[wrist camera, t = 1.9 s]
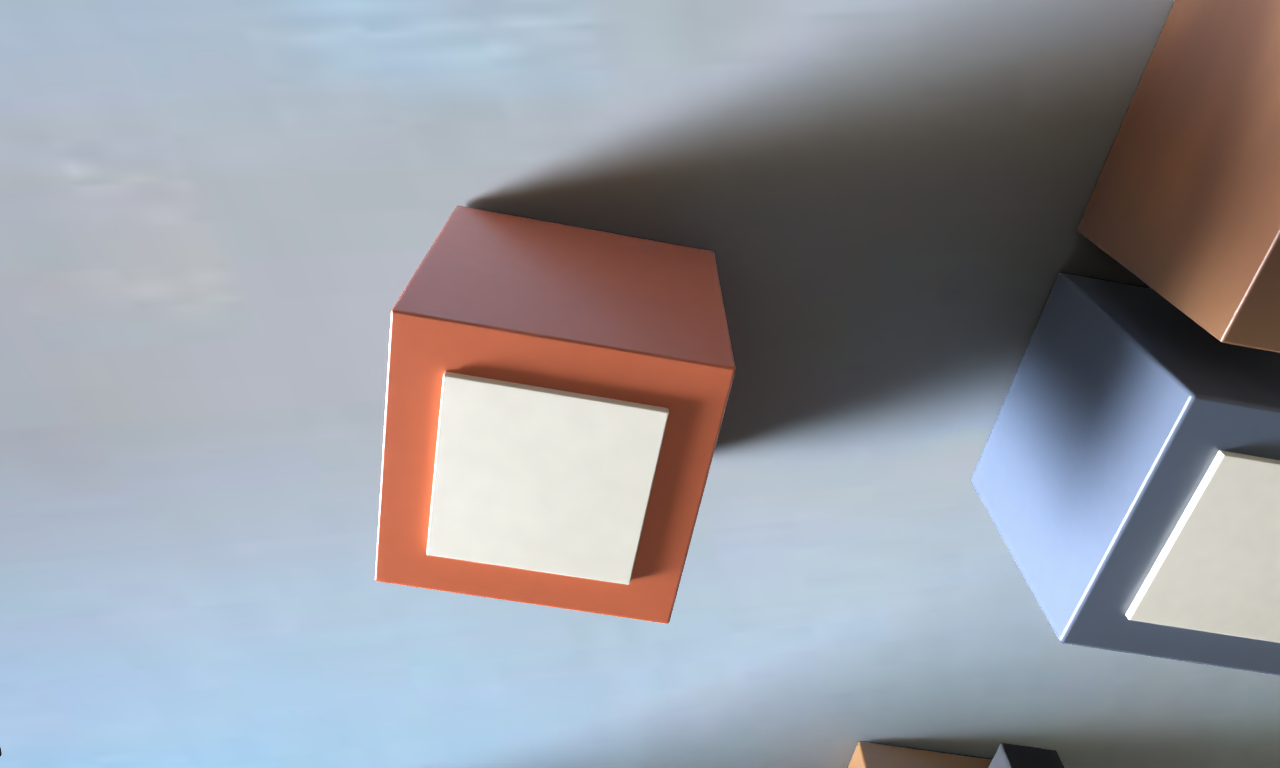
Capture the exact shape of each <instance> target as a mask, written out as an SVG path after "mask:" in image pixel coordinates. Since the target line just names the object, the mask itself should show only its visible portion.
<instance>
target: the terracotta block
mask: <svg viewBox="0 0 1280 768" xmlns="http://www.w3.org/2000/svg"><path fill="white" fill-rule="evenodd" d="M735 370H736V369H735V364H734V358H733V353H732V347H731V342H730V337H729V331H728V326H727V320H726V315H725V309H724V304H723V299H722V293H721V288H720V282H719V277H718V272H717V266H716V261H715V255H714V252H713V251H708V250H703V249H697V248H691V247H686V246H680V245H675V244H669V243H663V242H658V241H652V240H647V239H641V238H636V237H630V236H624V235H619V234H613V233H608V232H602V231H596V230H591V229H585V228H580V227H574V226H569V225H563V224H557V223H552V222H546V221H541V220H535V219H529V218H524V217H518V216H513V215H507V214H502V213H496V212H490V211H485V210H479V209H474V208H468V207H463V206H456V208H455V209H454V211H453V213H452V214H451V216H450V217H449V219H448V221H447V222H446V224H445V226H444V227H443V229H442V230H441V232H440V234H439V235H438V237H437V238H436V240H435V242H434V243H433V245H432V246H431V248H430V250H429V251H428V253H427V254H426V256H425V258H424V259H423V261H422V262H421V264H420V266H419V267H418V269H417V270H416V272H415V274H414V275H413V277H412V278H411V280H410V282H409V283H408V285H407V286H406V288H405V290H404V291H403V293H402V295H401V296H400V298H399V299H398V301H397V303H396V304H395V306H394V307H393V309H392V311H391V320H390V337H389V353H388V370H387V386H386V403H385V419H384V436H383V452H382V469H381V486H380V502H379V519H378V535H377V552H376V568H375V580H376V581H378V582H385V583H392V584H399V585H406V586H412V587H419V588H426V589H433V590H440V591H447V592H454V593H460V594H467V595H474V596H481V597H488V598H495V599H502V600H508V601H515V602H522V603H529V604H536V605H543V606H549V607H556V608H563V609H570V610H577V611H584V612H591V613H597V614H604V615H611V616H618V617H625V618H632V619H638V620H645V621H652V622H659V623H666V624H667V623H669V621H670V618H671V614H672V610H673V606H674V602H675V599H676V595H677V591H678V587H679V583H680V580H681V576H682V572H683V568H684V564H685V561H686V557H687V553H688V549H689V545H690V542H691V538H692V534H693V530H694V526H695V523H696V519H697V515H698V511H699V507H700V504H701V500H702V496H703V492H704V488H705V484H706V481H707V477H708V473H709V469H710V465H711V462H712V458H713V454H714V450H715V446H716V443H717V439H718V435H719V431H720V427H721V424H722V420H723V416H724V412H725V408H726V405H727V401H728V397H729V393H730V389H731V386H732V382H733V378H734V374H735Z"/></svg>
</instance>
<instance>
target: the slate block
mask: <svg viewBox="0 0 1280 768" xmlns="http://www.w3.org/2000/svg"><path fill="white" fill-rule="evenodd" d="M971 482H972V484H973V486H974V488H975V490H976V491H977V493H978V495H979V497H980V499H981V500H982V502H983V504H984V506H985V508H986V509H987V511H988V513H989V515H990V517H991V519H992V520H993V522H994V524H995V526H996V528H997V529H998V531H999V533H1000V535H1001V537H1002V538H1003V540H1004V542H1005V544H1006V546H1007V547H1008V549H1009V551H1010V553H1011V555H1012V557H1013V558H1014V560H1015V562H1016V564H1017V566H1018V567H1019V569H1020V571H1021V573H1022V575H1023V576H1024V578H1025V580H1026V582H1027V584H1028V585H1029V587H1030V589H1031V591H1032V593H1033V595H1034V596H1035V598H1036V600H1037V602H1038V604H1039V605H1040V607H1041V609H1042V611H1043V613H1044V614H1045V616H1046V618H1047V620H1048V622H1049V623H1050V625H1051V627H1052V629H1053V631H1054V632H1055V634H1056V636H1057V638H1058V640H1059V641H1060V642H1062V643H1065V644H1072V645H1079V646H1085V647H1092V648H1099V649H1106V650H1112V651H1119V652H1126V653H1132V654H1139V655H1146V656H1152V657H1159V658H1166V659H1172V660H1179V661H1186V662H1192V663H1199V664H1206V665H1213V666H1219V667H1226V668H1233V669H1239V670H1246V671H1253V672H1259V673H1266V674H1273V675H1279V676H1280V353H1278V352H1272V351H1267V350H1261V349H1256V348H1250V347H1244V346H1239V345H1233V344H1228V343H1222V342H1220V341H1219V340H1218V339H1216V338H1215V337H1214V336H1213V335H1211V334H1210V333H1209V332H1207V331H1206V330H1205V329H1204V328H1202V327H1201V326H1200V325H1198V324H1197V323H1196V322H1195V321H1193V320H1192V319H1191V318H1189V317H1188V316H1187V315H1185V314H1184V313H1183V312H1182V311H1180V310H1179V309H1178V308H1176V307H1175V306H1174V305H1173V304H1171V303H1170V302H1169V301H1167V300H1166V299H1165V298H1164V297H1162V296H1161V295H1160V294H1158V293H1157V292H1156V291H1155V290H1153V289H1148V288H1143V287H1137V286H1132V285H1126V284H1121V283H1116V282H1110V281H1105V280H1099V279H1094V278H1088V277H1083V276H1077V275H1072V274H1066V273H1060V274H1059V275H1058V277H1057V279H1056V281H1055V284H1054V286H1053V288H1052V291H1051V293H1050V295H1049V298H1048V300H1047V302H1046V305H1045V307H1044V309H1043V312H1042V314H1041V317H1040V319H1039V321H1038V324H1037V326H1036V328H1035V331H1034V333H1033V335H1032V338H1031V340H1030V342H1029V345H1028V347H1027V349H1026V352H1025V354H1024V356H1023V359H1022V361H1021V363H1020V366H1019V368H1018V370H1017V373H1016V375H1015V377H1014V380H1013V382H1012V384H1011V387H1010V389H1009V392H1008V394H1007V396H1006V399H1005V401H1004V403H1003V406H1002V408H1001V410H1000V413H999V415H998V417H997V420H996V422H995V424H994V427H993V429H992V431H991V434H990V436H989V438H988V441H987V443H986V445H985V448H984V450H983V452H982V455H981V457H980V459H979V462H978V464H977V467H976V469H975V471H974V474H973V476H972V478H971Z"/></svg>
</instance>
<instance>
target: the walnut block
mask: <svg viewBox="0 0 1280 768" xmlns="http://www.w3.org/2000/svg"><path fill="white" fill-rule="evenodd" d="M1077 231H1078V232H1080V233H1081V234H1082V235H1084V236H1085V237H1086V238H1087V239H1089V240H1090V241H1091V242H1093V243H1094V244H1095V245H1096V246H1098V247H1099V248H1100V249H1102V250H1103V251H1104V252H1106V253H1107V254H1108V255H1109V256H1111V257H1112V258H1113V259H1115V260H1116V261H1117V262H1118V263H1120V264H1121V265H1122V266H1124V267H1125V268H1126V269H1127V270H1129V271H1130V272H1131V273H1133V274H1134V275H1135V276H1136V277H1138V278H1139V279H1140V280H1142V281H1143V282H1144V283H1145V284H1147V285H1148V286H1149V287H1151V288H1152V289H1153V290H1155V291H1156V292H1157V293H1158V294H1160V295H1161V296H1162V297H1164V298H1165V299H1166V300H1167V301H1169V302H1170V303H1171V304H1173V305H1174V306H1175V307H1176V308H1178V309H1179V310H1180V311H1182V312H1183V313H1184V314H1185V315H1187V316H1188V317H1189V318H1191V319H1192V320H1193V321H1195V322H1196V323H1197V324H1198V325H1200V326H1201V327H1202V328H1204V329H1205V330H1206V331H1207V332H1209V333H1210V334H1211V335H1213V336H1214V337H1215V338H1216V339H1218V340H1219V341H1220V342H1222V343H1228V344H1233V345H1239V346H1244V347H1250V348H1256V349H1261V350H1267V351H1272V352H1278V353H1280V0H1174V3H1173V5H1172V7H1171V10H1170V12H1169V14H1168V17H1167V19H1166V21H1165V24H1164V26H1163V28H1162V31H1161V33H1160V35H1159V38H1158V40H1157V43H1156V45H1155V47H1154V50H1153V52H1152V54H1151V57H1150V59H1149V61H1148V64H1147V66H1146V68H1145V71H1144V73H1143V75H1142V78H1141V80H1140V82H1139V85H1138V87H1137V89H1136V92H1135V94H1134V96H1133V99H1132V101H1131V104H1130V106H1129V108H1128V111H1127V113H1126V115H1125V118H1124V120H1123V122H1122V125H1121V127H1120V129H1119V132H1118V134H1117V136H1116V139H1115V141H1114V143H1113V146H1112V148H1111V150H1110V153H1109V155H1108V157H1107V160H1106V162H1105V165H1104V167H1103V169H1102V172H1101V174H1100V176H1099V179H1098V181H1097V183H1096V186H1095V188H1094V190H1093V193H1092V195H1091V197H1090V200H1089V202H1088V204H1087V207H1086V209H1085V211H1084V214H1083V216H1082V219H1081V221H1080V223H1079V226H1078V228H1077Z"/></svg>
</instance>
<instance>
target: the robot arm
mask: <svg viewBox="0 0 1280 768" xmlns="http://www.w3.org/2000/svg"><path fill="white" fill-rule="evenodd" d="M0 756H1V749H0ZM988 768H1064V766H1063V764H1062V762H1061V760H1060V758H1059V756H1058V754H1057V752H1056V750H1049V749H1042V748H1034V747H1027V746H1020V745H1013V744H1006V743H1001V744H1000V746H999V748H998V750H997V752H996V754H995V756H994V758H993V759H992V761H991V763H990V765H989V767H988Z"/></svg>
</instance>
